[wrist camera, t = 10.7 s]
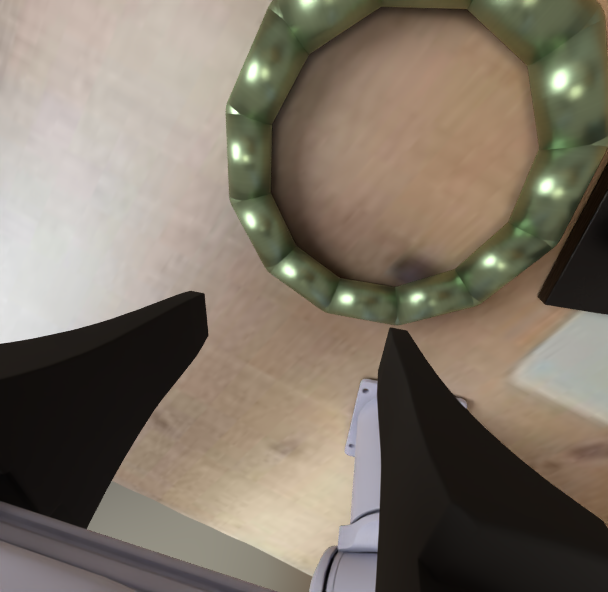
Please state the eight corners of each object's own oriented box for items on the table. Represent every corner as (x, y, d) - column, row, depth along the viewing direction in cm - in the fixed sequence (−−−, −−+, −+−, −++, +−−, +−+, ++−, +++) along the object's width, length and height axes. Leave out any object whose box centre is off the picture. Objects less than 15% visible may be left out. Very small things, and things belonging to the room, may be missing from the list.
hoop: (497, 330, 20) (511, 354, 18) (241, 286, 22) (227, 301, 20) (688, -63, 11) (759, -108, 9) (232, -61, 14) (205, -95, 12)
